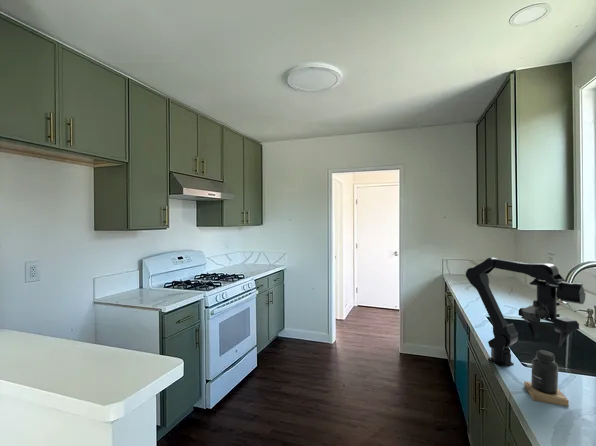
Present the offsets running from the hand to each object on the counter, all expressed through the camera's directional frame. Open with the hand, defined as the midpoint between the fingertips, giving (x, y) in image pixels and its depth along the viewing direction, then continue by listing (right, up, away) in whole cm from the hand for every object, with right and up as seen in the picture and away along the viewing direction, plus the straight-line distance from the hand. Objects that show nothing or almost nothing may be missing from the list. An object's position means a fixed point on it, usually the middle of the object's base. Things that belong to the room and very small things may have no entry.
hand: (546, 341), depth 117 cm
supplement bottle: (-10, -11, -12) cm, 19 cm away
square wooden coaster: (-10, -13, -12) cm, 20 cm away
